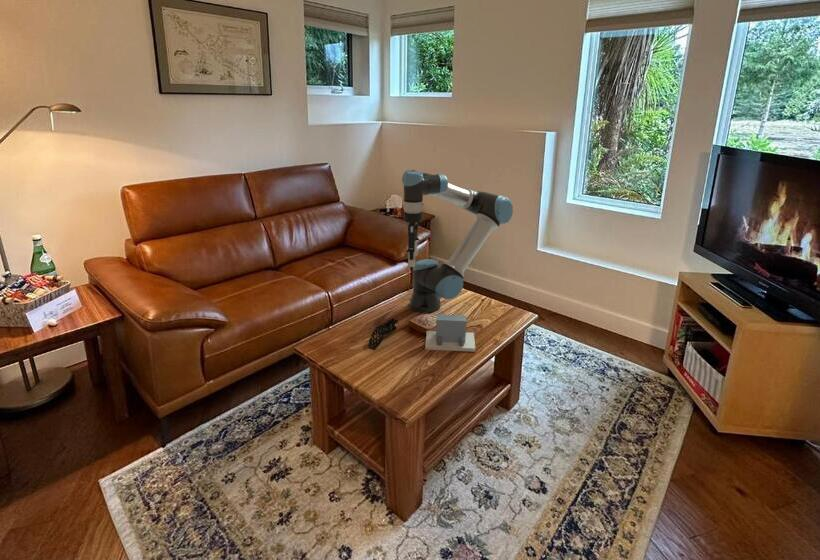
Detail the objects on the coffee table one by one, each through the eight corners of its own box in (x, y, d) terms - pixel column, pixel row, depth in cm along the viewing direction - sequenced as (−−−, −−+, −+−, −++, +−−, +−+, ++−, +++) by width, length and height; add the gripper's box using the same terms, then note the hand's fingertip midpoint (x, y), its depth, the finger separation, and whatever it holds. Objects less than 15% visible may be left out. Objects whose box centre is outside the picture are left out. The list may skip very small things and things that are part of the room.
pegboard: (425, 349, 188) (425, 339, 186) (426, 333, 200) (427, 324, 198) (475, 351, 187) (475, 341, 185) (473, 335, 198) (474, 326, 197)
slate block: (435, 341, 191) (436, 319, 187) (436, 335, 195) (436, 314, 192) (465, 342, 190) (466, 321, 186) (464, 336, 195) (466, 315, 191)
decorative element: (377, 351, 187) (377, 339, 184) (366, 349, 188) (365, 336, 186) (399, 327, 206) (399, 315, 204) (389, 325, 208) (389, 313, 205)
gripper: (420, 219, 175) (419, 272, 183) (424, 204, 198) (423, 251, 206) (400, 219, 175) (400, 271, 184) (406, 204, 198) (406, 251, 207)
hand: (412, 261), depth 195 cm, fingers open, 13 cm apart
